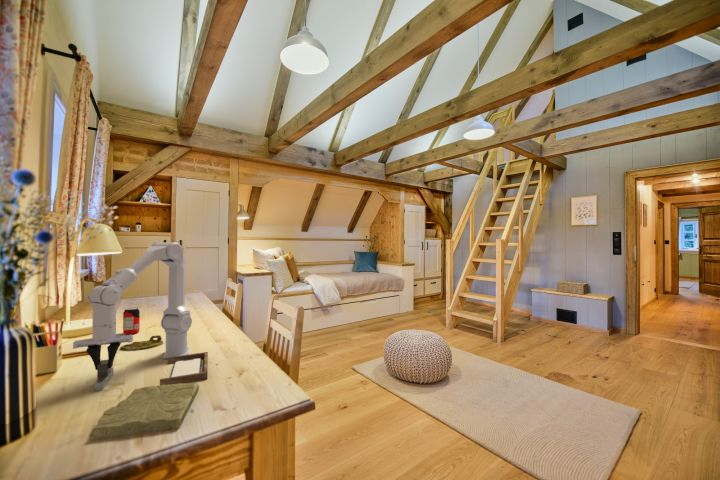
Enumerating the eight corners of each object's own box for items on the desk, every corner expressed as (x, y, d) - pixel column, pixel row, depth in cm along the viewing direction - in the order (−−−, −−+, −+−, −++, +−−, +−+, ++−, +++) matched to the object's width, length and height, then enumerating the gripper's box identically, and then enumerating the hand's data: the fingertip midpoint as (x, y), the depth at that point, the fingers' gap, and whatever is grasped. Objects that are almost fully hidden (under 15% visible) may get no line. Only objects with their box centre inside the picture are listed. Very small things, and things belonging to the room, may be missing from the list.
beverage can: (142, 332, 153) (142, 307, 154) (130, 335, 147) (130, 310, 147) (132, 331, 155) (132, 306, 155) (119, 334, 149) (119, 309, 149)
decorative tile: (199, 391, 94) (199, 379, 94) (180, 430, 75) (180, 415, 75) (127, 400, 89) (127, 387, 89) (86, 443, 70) (86, 427, 70)
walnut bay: (167, 362, 115) (167, 357, 115) (207, 357, 121) (207, 351, 121) (159, 386, 96) (159, 380, 96) (207, 378, 102) (207, 372, 102)
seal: (118, 356, 125) (162, 349, 132) (117, 344, 124) (162, 338, 132) (121, 347, 133) (163, 341, 140) (121, 336, 132) (163, 330, 140)
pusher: (105, 376, 104) (105, 356, 104) (114, 374, 105) (114, 355, 105) (92, 391, 93) (92, 369, 93) (103, 390, 94) (103, 368, 94)
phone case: (200, 379, 103) (202, 361, 117) (200, 374, 103) (202, 357, 117) (168, 385, 99) (174, 365, 113) (168, 380, 99) (174, 361, 113)
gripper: (69, 330, 92) (68, 377, 92) (129, 324, 98) (129, 368, 98) (78, 324, 98) (77, 368, 98) (134, 319, 105) (134, 360, 105)
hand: (104, 367), depth 99 cm, fingers closed on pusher, 2 cm apart
